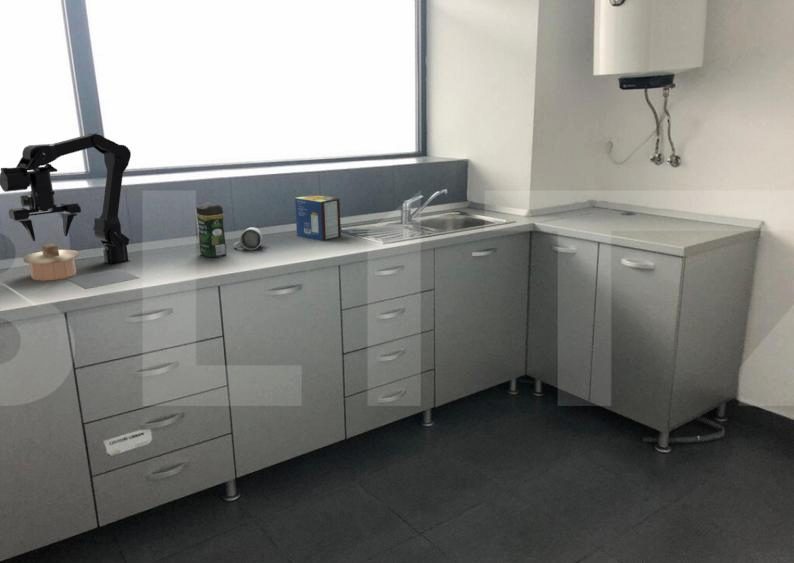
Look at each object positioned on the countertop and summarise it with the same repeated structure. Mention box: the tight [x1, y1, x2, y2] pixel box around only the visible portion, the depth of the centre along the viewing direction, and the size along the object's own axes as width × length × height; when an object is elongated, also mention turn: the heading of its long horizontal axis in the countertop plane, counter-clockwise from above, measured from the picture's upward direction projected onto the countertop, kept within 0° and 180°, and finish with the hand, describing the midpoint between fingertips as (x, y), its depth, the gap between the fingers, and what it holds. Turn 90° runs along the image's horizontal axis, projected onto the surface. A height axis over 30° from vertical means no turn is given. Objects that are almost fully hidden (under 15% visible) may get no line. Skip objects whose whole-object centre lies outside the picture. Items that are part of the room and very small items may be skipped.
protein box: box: [294, 194, 342, 241], centre depth 251 cm, size 10×15×16 cm
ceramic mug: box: [233, 226, 263, 251], centre depth 233 cm, size 11×8×8 cm
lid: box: [23, 243, 79, 264], centre depth 195 cm, size 15×15×4 cm
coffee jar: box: [195, 201, 227, 258], centre depth 221 cm, size 10×8×19 cm
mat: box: [65, 268, 140, 290], centre depth 193 cm, size 16×16×1 cm
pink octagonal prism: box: [28, 258, 77, 282], centre depth 196 cm, size 12×12×6 cm
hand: (50, 238), depth 195 cm, fingers open, 9 cm apart
